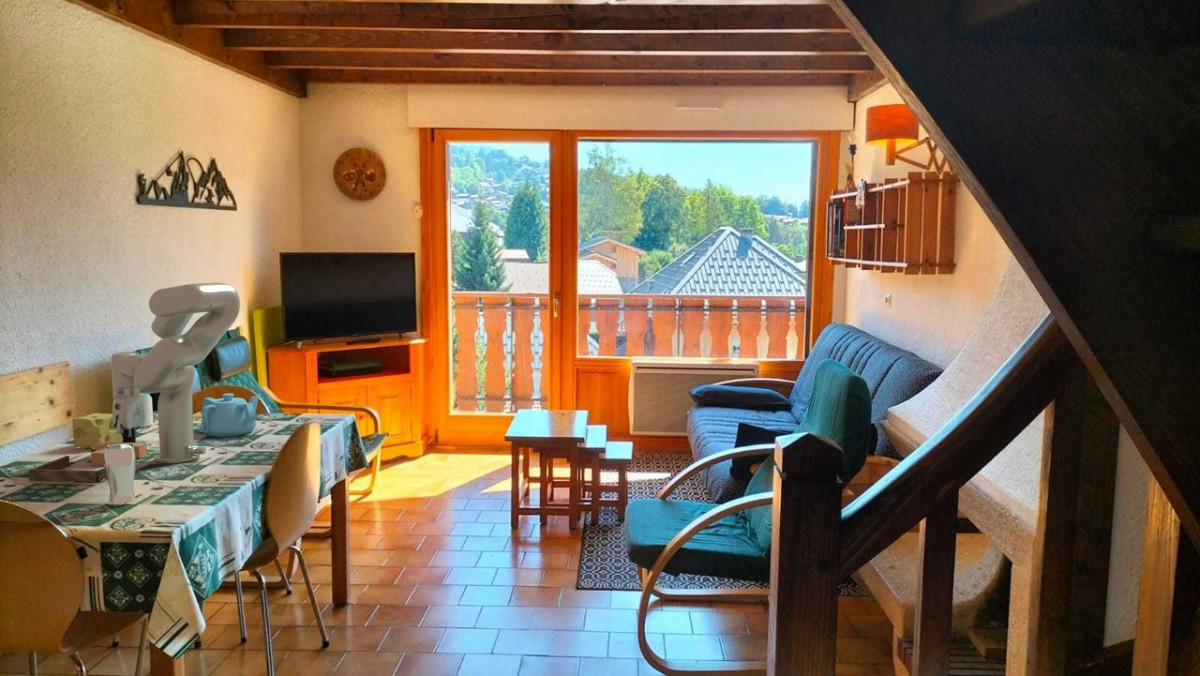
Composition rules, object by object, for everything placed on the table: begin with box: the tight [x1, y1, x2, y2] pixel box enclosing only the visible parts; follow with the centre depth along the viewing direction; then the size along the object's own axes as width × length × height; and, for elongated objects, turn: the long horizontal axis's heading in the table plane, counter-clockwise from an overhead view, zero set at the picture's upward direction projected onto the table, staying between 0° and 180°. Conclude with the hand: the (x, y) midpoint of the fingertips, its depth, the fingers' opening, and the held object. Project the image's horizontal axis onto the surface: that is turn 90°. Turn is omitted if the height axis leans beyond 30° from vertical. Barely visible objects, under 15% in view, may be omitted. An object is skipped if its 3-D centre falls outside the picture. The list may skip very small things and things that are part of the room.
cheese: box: [72, 412, 123, 450], centre depth 270 cm, size 10×11×10 cm
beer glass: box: [104, 442, 137, 505], centre depth 212 cm, size 7×7×15 cm
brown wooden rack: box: [28, 455, 107, 482], centre depth 238 cm, size 20×16×3 cm
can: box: [138, 392, 154, 429], centre depth 298 cm, size 7×7×12 cm
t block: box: [90, 442, 148, 467], centre depth 252 cm, size 14×13×4 cm
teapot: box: [199, 393, 259, 438], centre depth 291 cm, size 19×19×14 cm
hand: (129, 448), depth 261 cm, fingers closed
